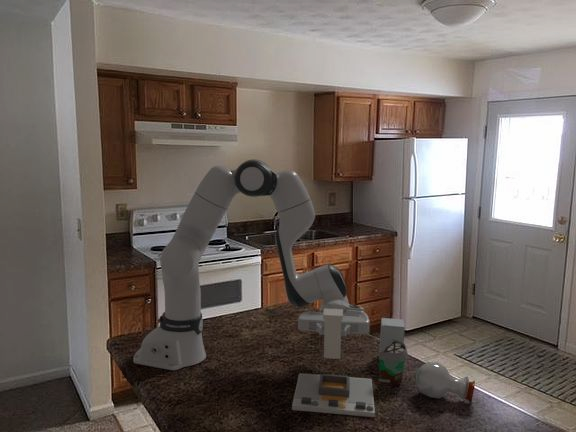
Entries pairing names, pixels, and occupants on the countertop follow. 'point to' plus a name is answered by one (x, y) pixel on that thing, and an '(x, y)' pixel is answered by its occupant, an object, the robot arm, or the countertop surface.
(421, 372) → the potion bottle
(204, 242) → the robot arm
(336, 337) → the plug
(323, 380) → the board
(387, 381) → the food container
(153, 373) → the countertop surface
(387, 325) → the supplement box
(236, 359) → the countertop surface
